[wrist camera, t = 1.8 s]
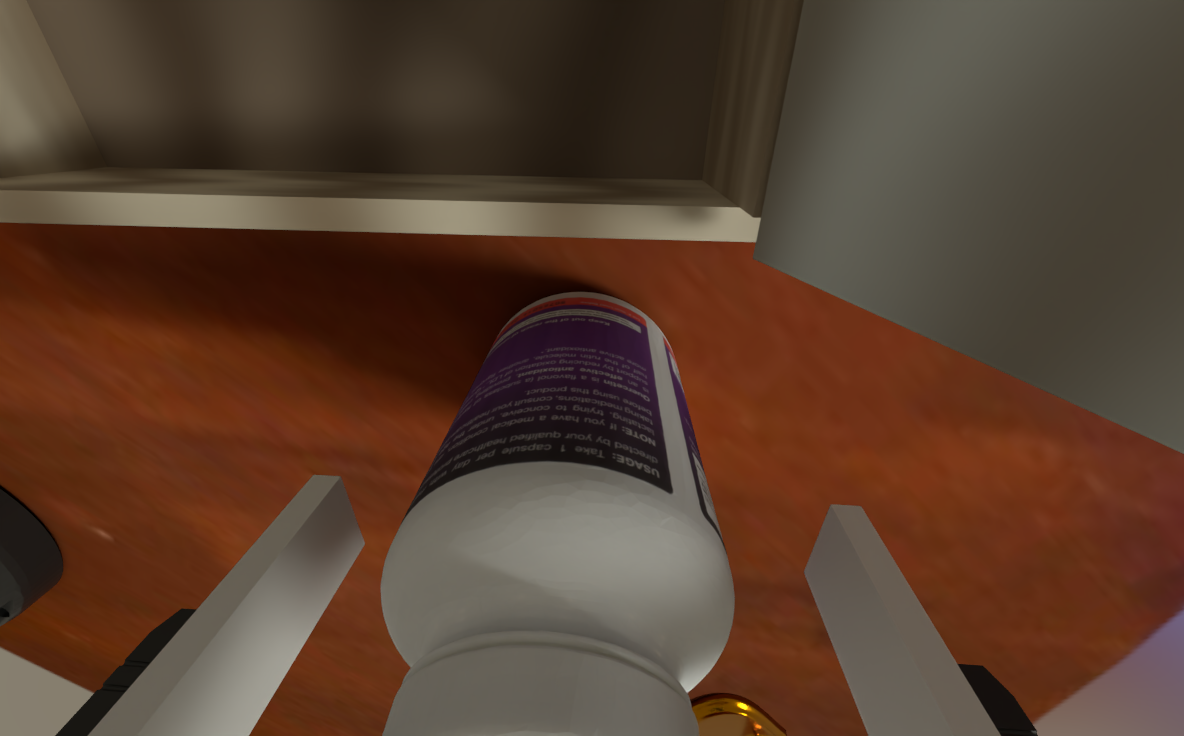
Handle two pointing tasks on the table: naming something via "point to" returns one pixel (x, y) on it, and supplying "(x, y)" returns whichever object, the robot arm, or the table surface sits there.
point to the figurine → (733, 717)
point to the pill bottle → (561, 542)
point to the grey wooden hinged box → (665, 147)
